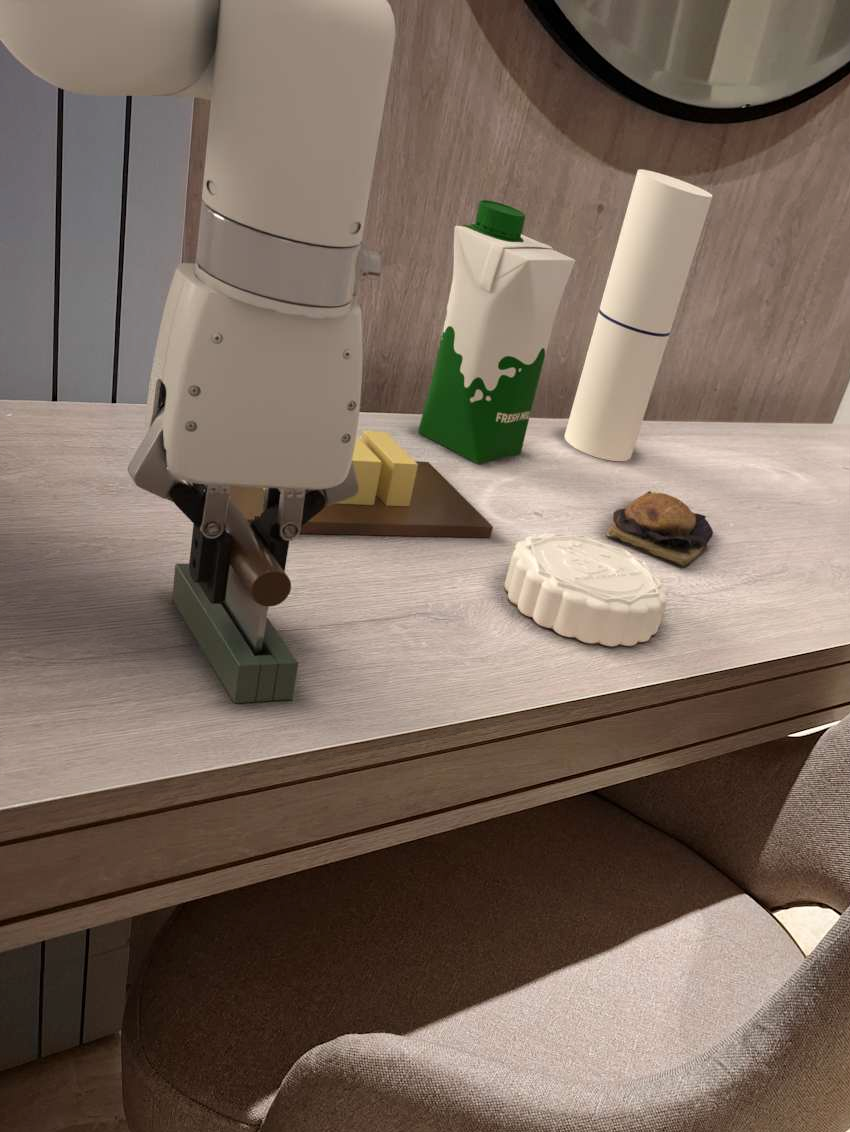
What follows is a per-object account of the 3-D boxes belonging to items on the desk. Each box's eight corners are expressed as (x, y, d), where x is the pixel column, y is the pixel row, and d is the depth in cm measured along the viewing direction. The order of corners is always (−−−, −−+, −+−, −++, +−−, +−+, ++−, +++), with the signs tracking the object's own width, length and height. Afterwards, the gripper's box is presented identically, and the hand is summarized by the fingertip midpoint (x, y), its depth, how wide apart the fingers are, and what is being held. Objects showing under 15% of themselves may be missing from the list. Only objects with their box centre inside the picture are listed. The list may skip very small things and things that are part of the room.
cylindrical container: (555, 441, 118) (628, 170, 105) (576, 426, 124) (649, 168, 111) (620, 467, 118) (703, 198, 104) (639, 450, 124) (719, 194, 110)
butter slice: (386, 505, 91) (394, 462, 89) (355, 472, 95) (362, 429, 93) (409, 506, 92) (418, 464, 90) (378, 473, 96) (386, 431, 94)
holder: (234, 703, 66) (239, 665, 64) (171, 599, 73) (175, 562, 71) (293, 700, 68) (299, 662, 66) (226, 598, 75) (230, 563, 73)
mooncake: (590, 563, 96) (603, 523, 94) (688, 639, 90) (703, 597, 88) (472, 573, 88) (483, 529, 86) (570, 656, 82) (584, 611, 80)
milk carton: (460, 419, 115) (509, 200, 104) (534, 457, 113) (593, 237, 102) (403, 429, 108) (449, 196, 97) (481, 470, 106) (537, 235, 95)
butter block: (272, 501, 86) (278, 455, 84) (244, 465, 89) (250, 421, 87) (374, 505, 90) (382, 462, 88) (343, 471, 94) (350, 428, 92)
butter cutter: (237, 693, 67) (254, 570, 62) (182, 603, 73) (195, 486, 68) (274, 691, 68) (294, 571, 64) (218, 603, 74) (232, 488, 70)
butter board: (244, 532, 83) (245, 519, 82) (191, 459, 90) (192, 446, 89) (490, 537, 94) (493, 526, 94) (426, 472, 102) (428, 461, 101)
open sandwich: (687, 573, 101) (701, 534, 99) (597, 535, 102) (610, 495, 100) (716, 538, 110) (730, 501, 107) (634, 503, 110) (646, 466, 108)
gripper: (394, 261, 65) (339, 562, 75) (85, 206, 56) (69, 559, 66) (454, 309, 61) (387, 622, 71) (130, 259, 51) (105, 628, 61)
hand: (234, 589), depth 68 cm, fingers closed on butter cutter, 2 cm apart
